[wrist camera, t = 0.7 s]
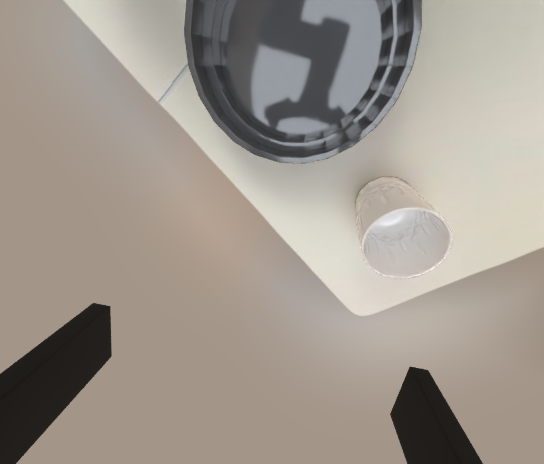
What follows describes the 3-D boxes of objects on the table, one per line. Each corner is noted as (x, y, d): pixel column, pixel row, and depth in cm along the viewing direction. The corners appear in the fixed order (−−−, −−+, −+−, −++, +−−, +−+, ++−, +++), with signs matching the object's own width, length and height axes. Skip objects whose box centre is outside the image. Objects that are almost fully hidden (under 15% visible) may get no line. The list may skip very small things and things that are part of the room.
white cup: (348, 229, 36) (357, 277, 28) (353, 171, 32) (365, 207, 24) (411, 230, 35) (440, 280, 26) (424, 170, 31) (464, 207, 22)
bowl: (309, -165, 20) (306, -236, 16) (443, 52, 25) (471, 47, 21) (172, 53, 29) (143, 49, 24) (293, 181, 34) (289, 199, 29)
